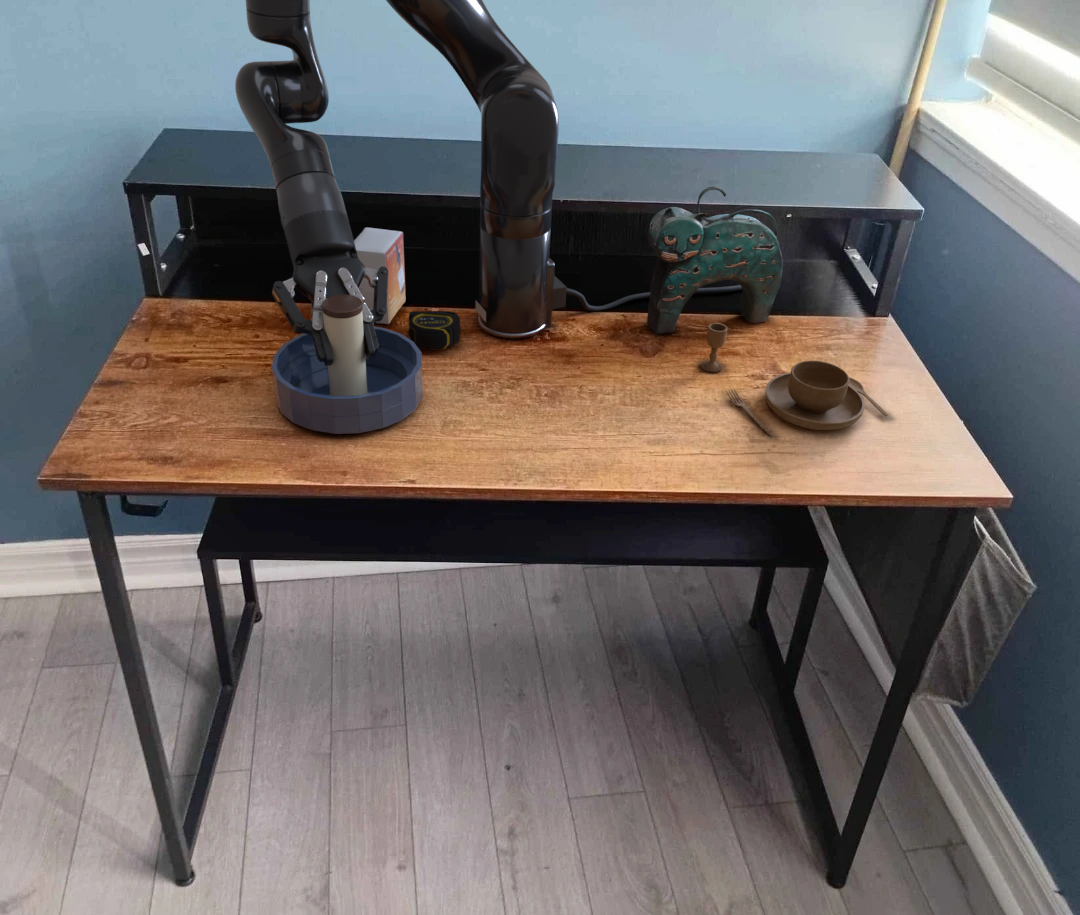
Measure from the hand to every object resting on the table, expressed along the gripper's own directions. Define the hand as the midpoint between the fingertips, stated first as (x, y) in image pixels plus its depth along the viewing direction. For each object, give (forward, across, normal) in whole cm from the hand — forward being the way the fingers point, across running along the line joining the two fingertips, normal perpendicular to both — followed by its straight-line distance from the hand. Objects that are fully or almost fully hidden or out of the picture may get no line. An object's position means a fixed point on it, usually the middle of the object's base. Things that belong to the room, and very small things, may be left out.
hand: (350, 359), depth 113 cm
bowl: (+3, 0, +6) cm, 7 cm away
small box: (-12, +10, +21) cm, 26 cm away
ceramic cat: (+2, +52, +7) cm, 52 cm away
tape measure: (-4, +14, +13) cm, 20 cm away
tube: (+3, 0, +5) cm, 6 cm away
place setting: (+16, +52, -7) cm, 55 cm away
